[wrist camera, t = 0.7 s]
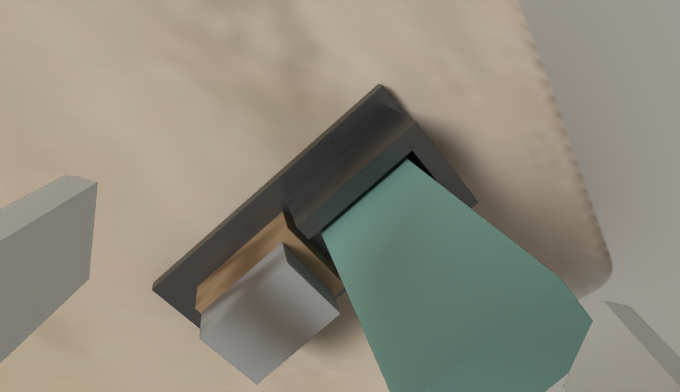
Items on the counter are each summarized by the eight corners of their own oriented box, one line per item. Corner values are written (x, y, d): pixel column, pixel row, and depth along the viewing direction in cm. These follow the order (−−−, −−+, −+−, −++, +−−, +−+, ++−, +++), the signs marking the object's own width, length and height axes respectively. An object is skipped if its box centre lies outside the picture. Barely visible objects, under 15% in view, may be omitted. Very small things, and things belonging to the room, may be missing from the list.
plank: (342, 242, 37) (456, 464, 19) (310, 209, 36) (399, 413, 17) (415, 178, 37) (607, 340, 18) (386, 143, 35) (561, 279, 17)
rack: (251, 362, 40) (255, 417, 34) (153, 282, 36) (140, 330, 31) (458, 185, 39) (496, 213, 33) (378, 83, 35) (407, 95, 29)
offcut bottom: (256, 336, 38) (258, 360, 35) (197, 286, 36) (194, 308, 33) (337, 266, 38) (346, 286, 35) (282, 211, 35) (287, 227, 33)
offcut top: (254, 355, 35) (257, 384, 32) (201, 312, 33) (199, 338, 30) (331, 290, 35) (340, 313, 32) (281, 241, 33) (287, 262, 30)
